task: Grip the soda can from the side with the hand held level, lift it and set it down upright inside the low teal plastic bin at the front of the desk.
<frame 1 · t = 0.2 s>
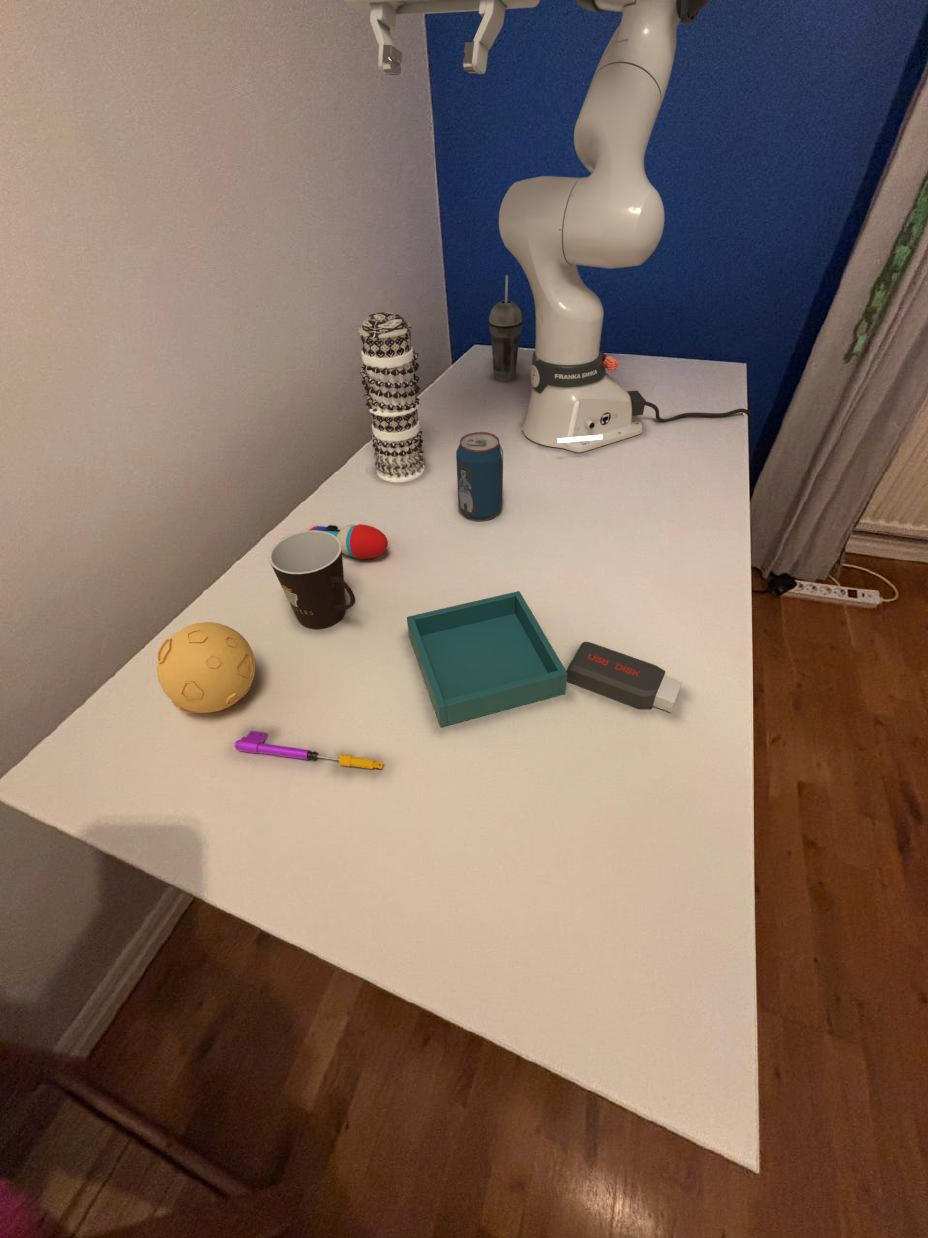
hand: (430, 72, 56), 51 cm above the table, tool tilted 20°, fingers open, 8 cm apart
soda can: (480, 512, 95), on the table
toy figure: (345, 551, 88), on the table
bin: (483, 664, 71), on the table
beverage cup: (504, 378, 133), on the table
purple orange rod tool: (312, 753, 63), on the table
stress ball: (222, 697, 69), on the table
usb drive: (621, 685, 68), on the table
decorative candle: (401, 471, 105), on the table
coffee mug: (324, 620, 77), on the table
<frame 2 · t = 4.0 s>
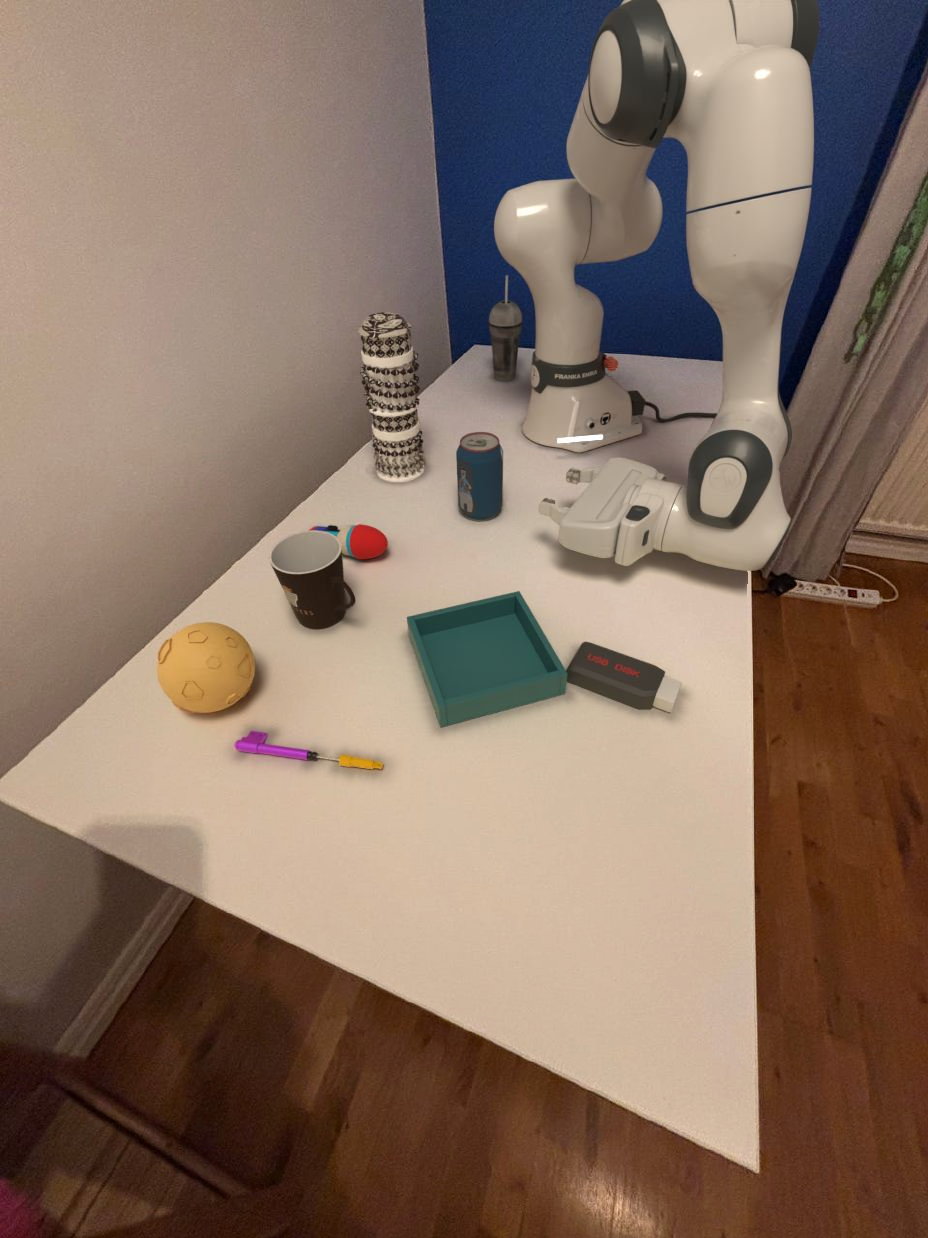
hand: (554, 489, 85), 7 cm above the table, tool horizontal, fingers open, 8 cm apart
nothing on the table moved.
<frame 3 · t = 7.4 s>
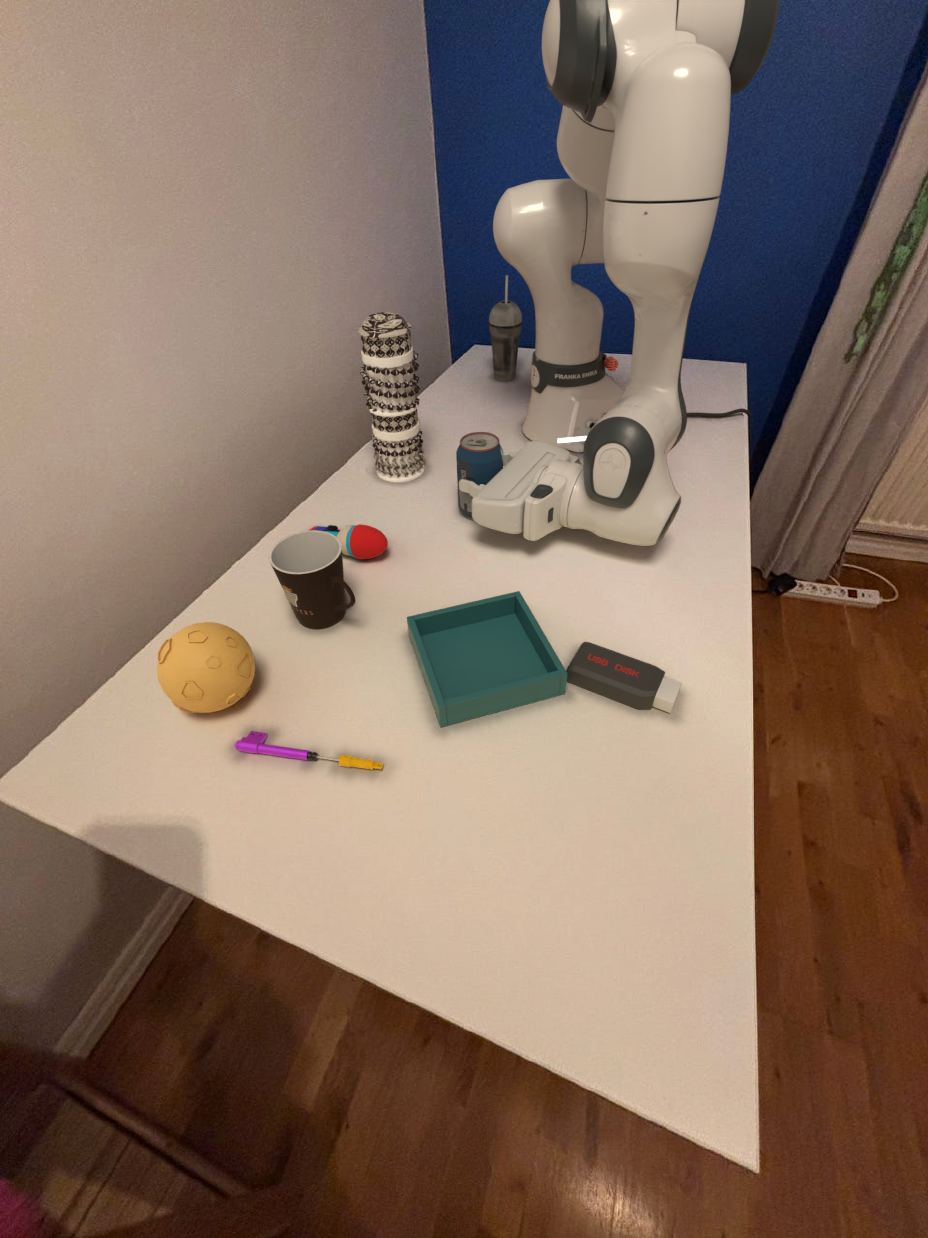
hand: (474, 470, 90), 7 cm above the table, tool horizontal, fingers closed on soda can, 7 cm apart
soda can: (480, 512, 95), on the table, touching gripper
everything else where it was.
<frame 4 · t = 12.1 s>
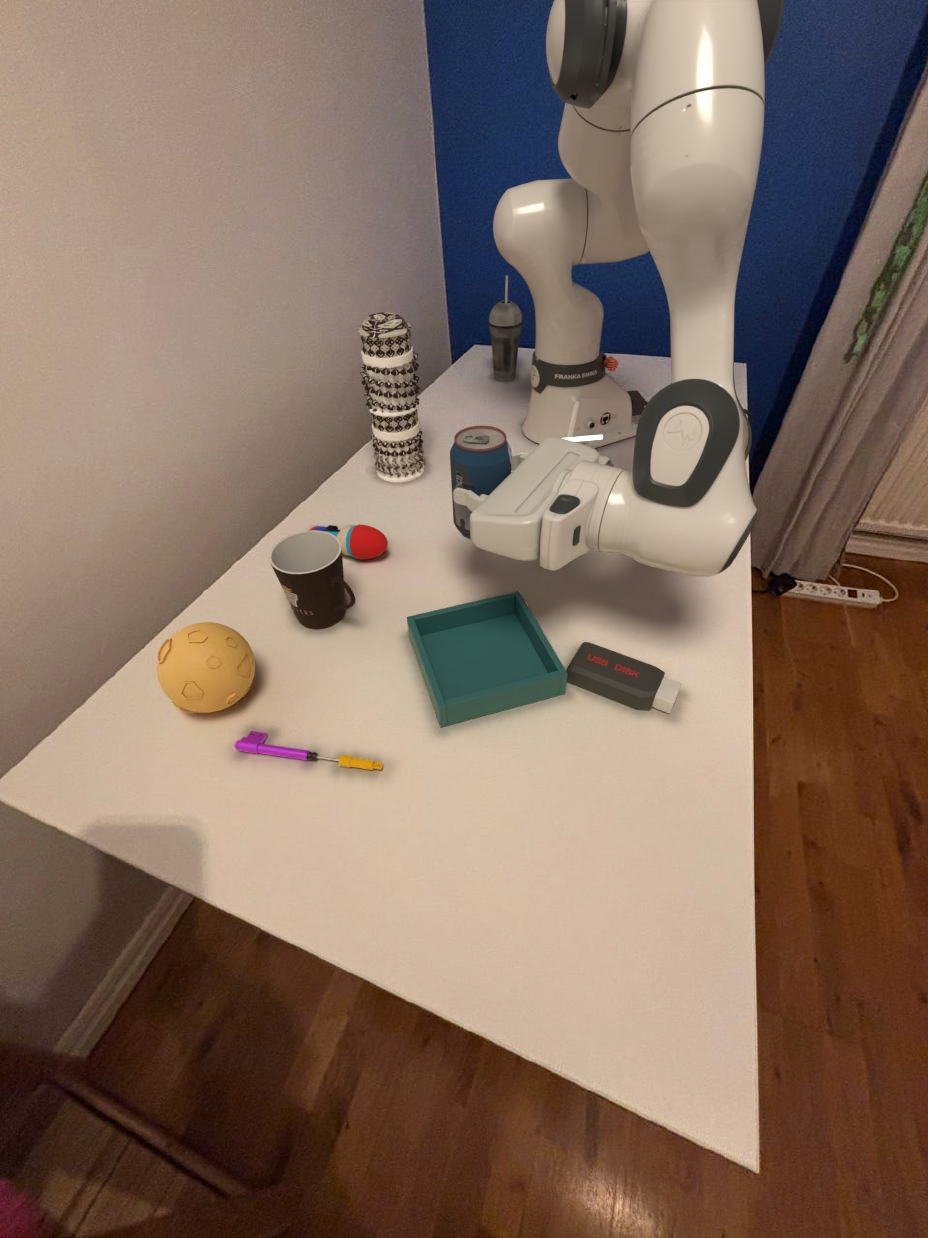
hand: (474, 475, 69), 17 cm above the table, tool horizontal, fingers closed on soda can, 7 cm apart
soda can: (482, 529, 74), point 10 cm above the table, touching gripper
everything else where it was.
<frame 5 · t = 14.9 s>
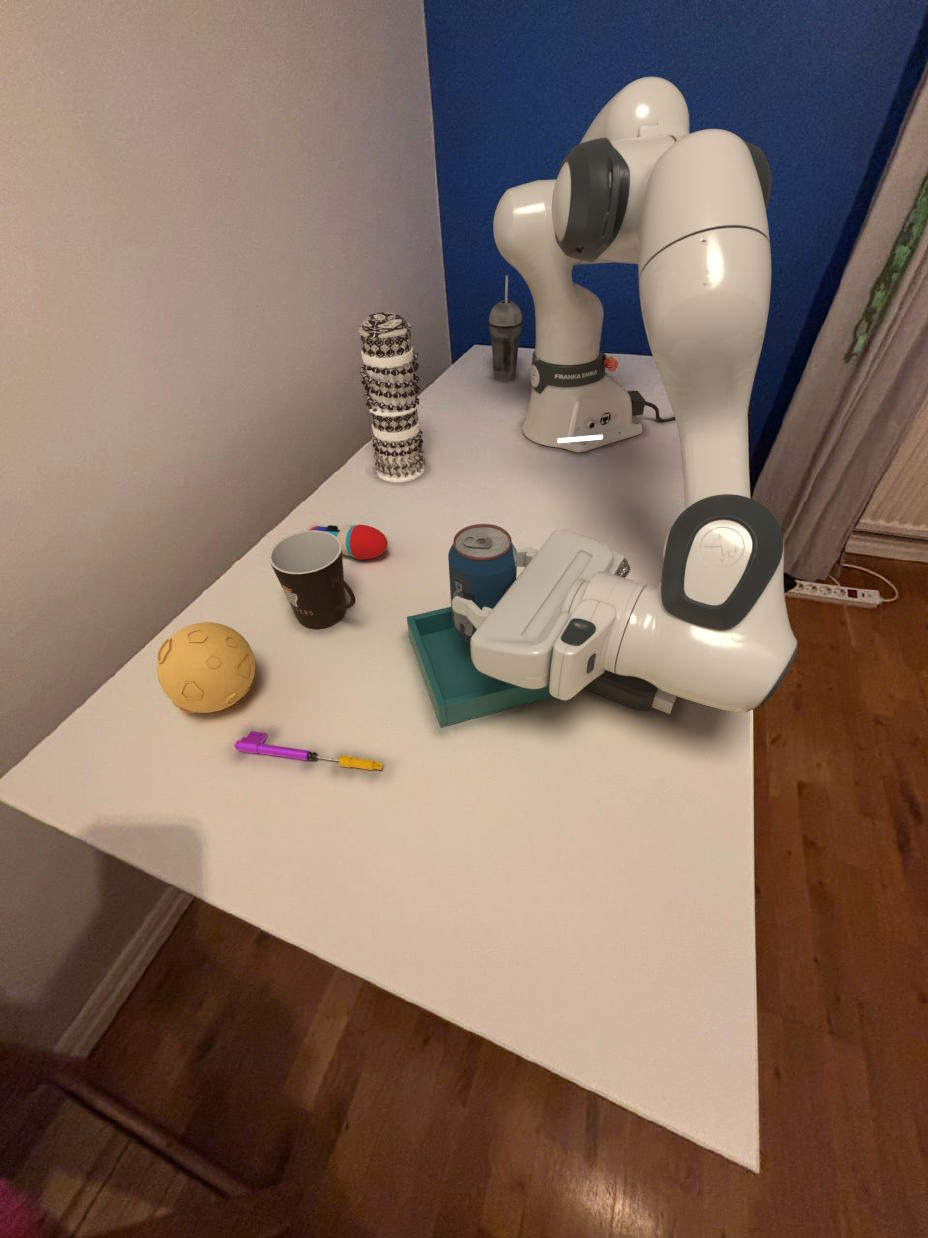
hand: (475, 577, 62), 13 cm above the table, tool horizontal, fingers closed on soda can, 7 cm apart
soda can: (483, 629, 67), point 6 cm above the table, touching gripper
everything else where it was.
when the fingers open (8 cm above the table, at t = 17.1 s): soda can stays where it is, resting on bin.
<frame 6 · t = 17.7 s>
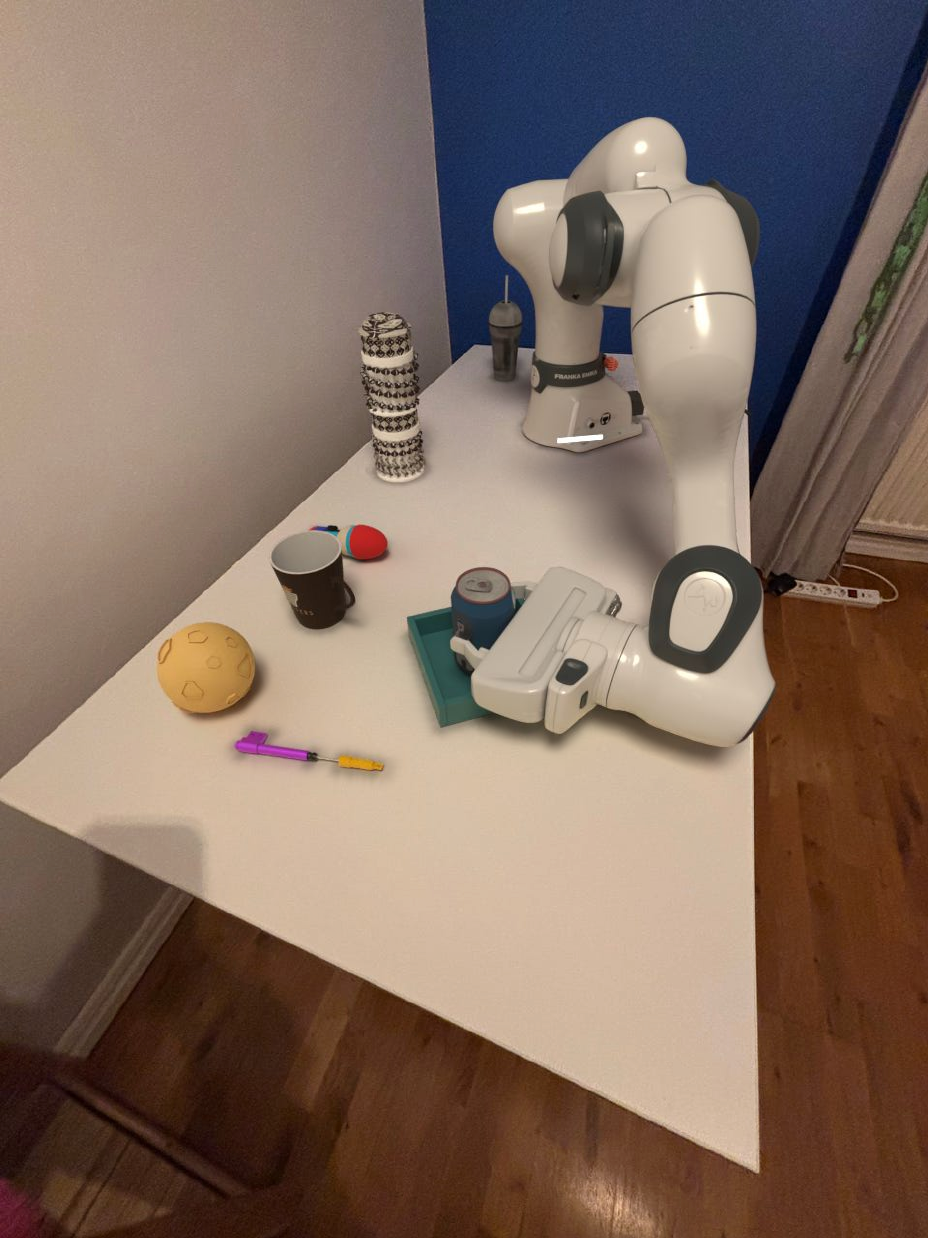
hand: (475, 612, 66), 8 cm above the table, tool horizontal, fingers open, 8 cm apart
soda can: (483, 662, 71), resting on bin
everything else where it was.
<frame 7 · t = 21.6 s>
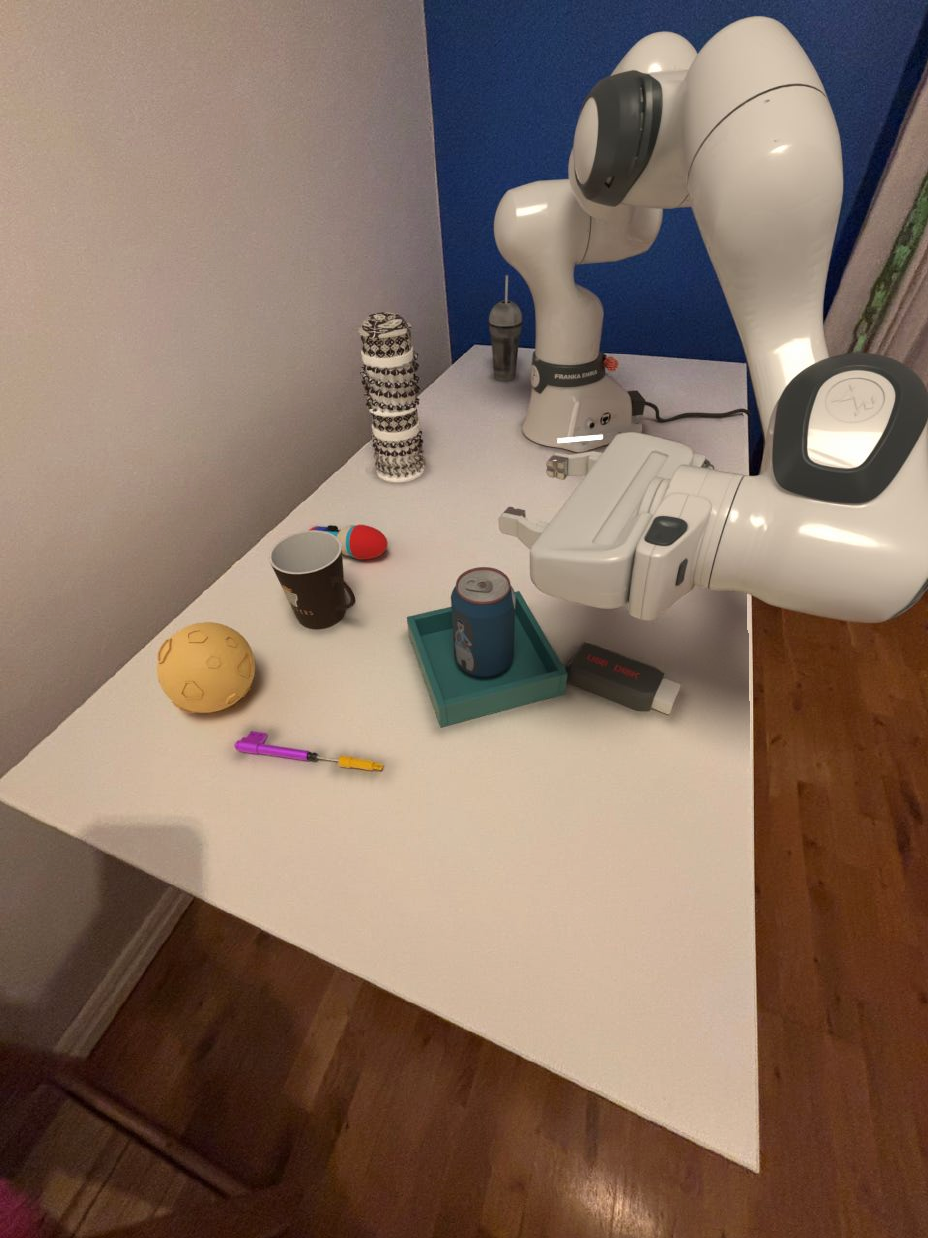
hand: (527, 490, 52), 25 cm above the table, tool horizontal, fingers open, 8 cm apart
nothing on the table moved.
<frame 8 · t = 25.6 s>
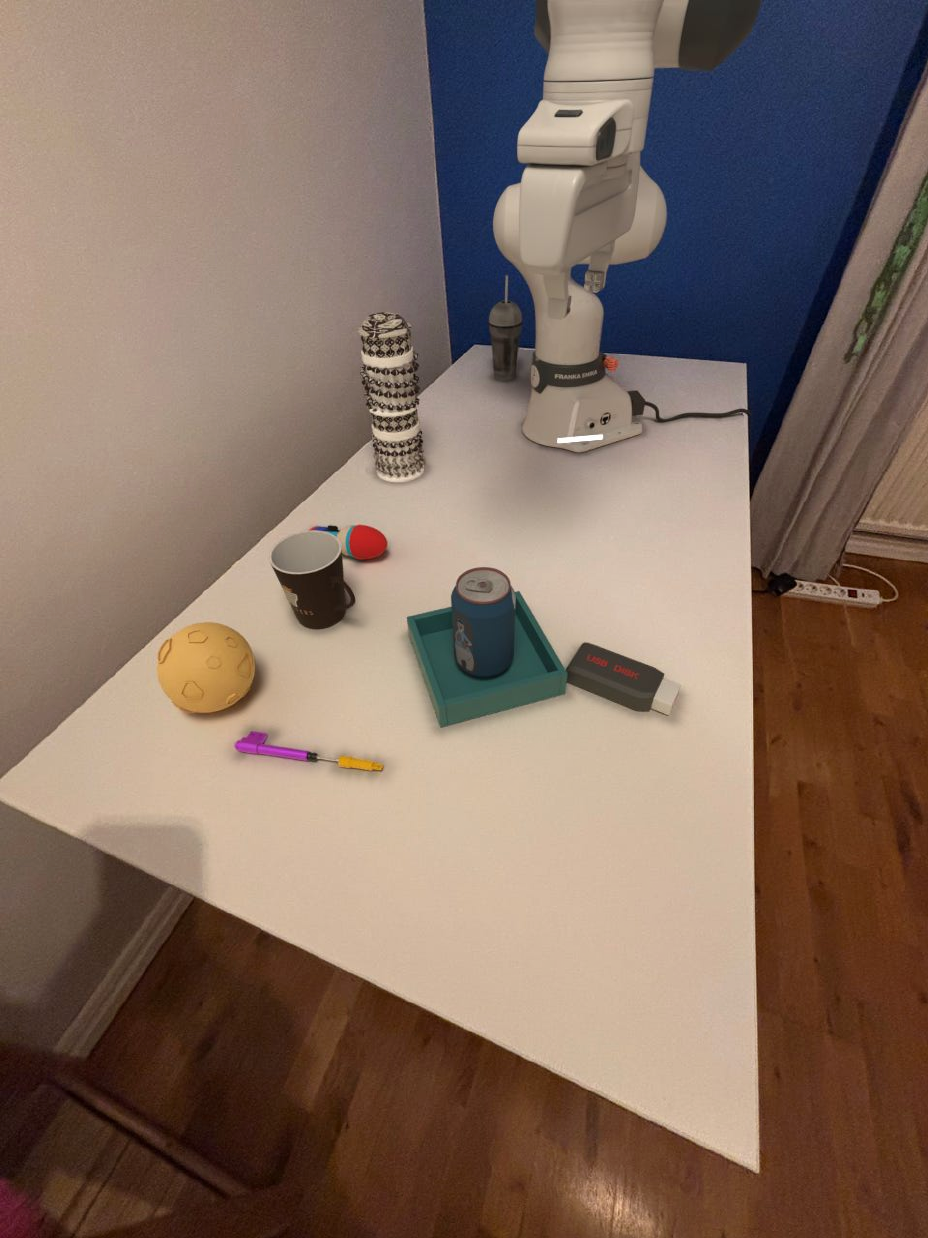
hand: (577, 303, 60), 34 cm above the table, tool pointing down, fingers open, 8 cm apart
nothing on the table moved.
at the end: soda can inside the target area in the bin (0.1 cm from its centre), point 0.3 cm above the bin's base; soda can tilted 0°; the gripper is holding nothing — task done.
